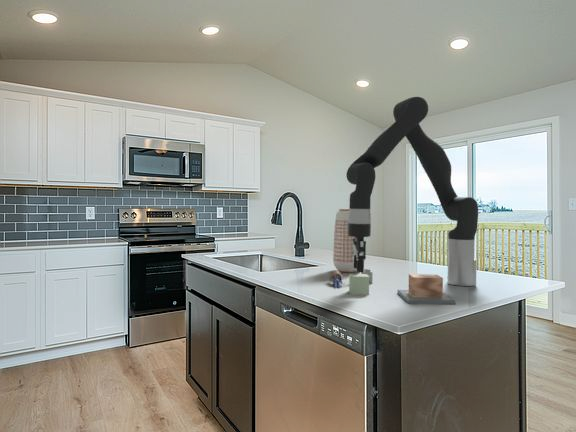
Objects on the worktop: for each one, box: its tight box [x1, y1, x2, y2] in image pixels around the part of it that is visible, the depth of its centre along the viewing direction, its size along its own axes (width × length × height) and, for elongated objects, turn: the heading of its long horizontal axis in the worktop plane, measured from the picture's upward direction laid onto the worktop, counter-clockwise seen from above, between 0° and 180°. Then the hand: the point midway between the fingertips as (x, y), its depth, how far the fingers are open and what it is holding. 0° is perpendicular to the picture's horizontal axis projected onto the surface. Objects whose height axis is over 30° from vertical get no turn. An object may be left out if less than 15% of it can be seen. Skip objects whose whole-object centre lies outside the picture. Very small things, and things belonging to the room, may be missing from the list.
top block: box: [348, 273, 370, 295], centre depth 132 cm, size 6×5×6 cm
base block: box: [408, 273, 444, 297], centre depth 124 cm, size 9×6×6 cm
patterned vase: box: [332, 208, 362, 274], centre depth 175 cm, size 13×13×28 cm
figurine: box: [329, 269, 345, 289], centre depth 145 cm, size 6×5×12 cm
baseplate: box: [397, 289, 457, 305], centre depth 124 cm, size 14×14×1 cm
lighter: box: [356, 268, 374, 284], centre depth 149 cm, size 7×2×8 cm, turn 74°
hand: (358, 270), depth 132 cm, fingers open, 8 cm apart
